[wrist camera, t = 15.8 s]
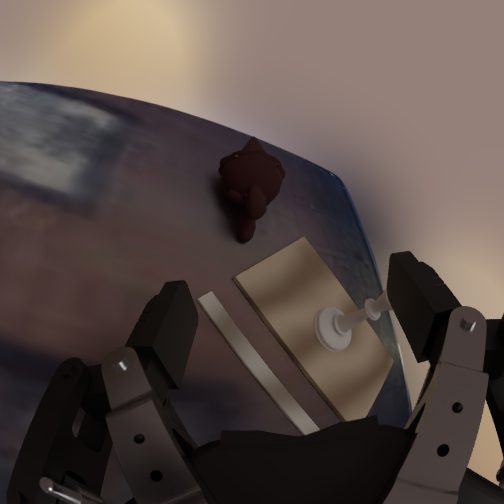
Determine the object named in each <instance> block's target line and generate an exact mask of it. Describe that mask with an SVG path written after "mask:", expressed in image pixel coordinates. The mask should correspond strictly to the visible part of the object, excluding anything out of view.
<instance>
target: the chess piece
mask: <svg viewBox="0 0 504 504" xmlns="http://www.w3.org/2000/svg"><path fill="white" fill-rule="evenodd" d="M387 310H393V309H392V307H391V305H390V303H389V300H388V297H387V289H386V290H385V291H384V292H383V293H382V295H381V296H380V297H379V298H378V299H377V300H376V301H375V300H373V299H367V300H366V301H365V308H363V309H360V310H358V311H355V312H352V313H350V314H347V315H344V314H343V313H342V312H341V311H340V310H339V309H337V308H335V307H326V308H324V309H321V310H320V311H319V312H318V313H317V314H316V316H315V320H314V328H315V333H316V336H317V338H318V340H319V342H320V343H321V344H322V346H323V347H325V348H326V349H327V350H329V351H331V352H339V351H341V350H343V349H345V348H346V347H347V346H348V345H349V343H350V341H351V329H352V328H353V327H355V326H356V325H358V324H359V323H361V322H362V321H364V320H365V319H367V318H368V317H370V318H371V319H372V320H377V319H378V318H379V317H380V311H387Z"/></svg>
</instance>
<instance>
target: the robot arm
mask: <svg viewBox="0 0 504 504" xmlns="http://www.w3.org/2000/svg"><path fill="white" fill-rule="evenodd" d="M388 271H389V272H388V280H387V297H388V300H389V303H390V305H391V307H392V309H393V310H394V313H395V315H396V317H397V319H398V321H399V323H400V325H401V327H402V329H403V331H404V333H405V335H406V338H407V339H408V342H409V344H410V346H411V348H412V351H413V353H414V355H415V358H416V360H417V362H418V363H420V362H424V361H427V360H429V363H430V368H429V370H428V373H427V375H426V378H425V381H424V384H423V387H422V390H421V392H420V395H419V398H418V400H417V403H416V406H415V408H414V410H413V412H412V414H411V416H410V418H409V420H408V422H407V424H406V426H405V428H402V427H398V426H394V425H387V424H378V419H377V415H374V416H370V417H365V418H361V419H356V420H351V421H345V422H339V423H337V424H334V425H332V426H329V427H327V428H324V429H321V430H318V431H316V432H313V433H310V434H307V435H304V436H289V435H283V434H276V433H270V432H265V431H259V430H256V431H224V430H222V432H221V440H216V441H213V442H210V443H207V444H205V445H202V446H200V447H198V446H197V445H196V443H195V442H194V441H193V439H192V438H191V437H190V435H189V434H188V432H187V431H186V429H185V427H184V426H183V424H182V422H181V420H180V419H179V417H178V415H177V413H176V411H175V410H174V408H173V406H172V404H171V402H170V400H169V398H168V397H167V396H166V395H167V391H168V389H180V385H181V382H182V378H183V375H184V371H185V367H186V364H187V360H188V357H189V353H190V350H191V346H192V343H193V340H194V336H195V333H196V329H197V326H198V312H197V309H196V306H195V304H194V301H193V299H192V296H191V293H190V291H189V288H188V285H187V283H186V282H185V281H184V280H180V281H171V282H166V283H165V284H164V286H163V288H162V289H161V291H160V293H159V295H155V296H154V297H153V298H152V299H151V300H150V301H149V302H148V303H147V305H146V307H145V308H144V310H143V312H142V313H143V314H141V316H140V318H139V322H137V323H136V325H135V327H134V329H133V331H132V333H131V335H130V337H129V339H128V341H127V343H126V345H125V347H120V348H117V349H115V350H113V351H111V352H110V353H109V354H108V355H107V356H106V357H105V358H104V360H103V362H102V364H99V365H95V366H90V367H86V365H85V364H84V363H83V362H82V360H81V359H79V358H70V359H67V360H66V361H64V362H63V363H62V364H61V365H60V366H59V367H58V369H57V370H56V372H55V374H54V376H53V378H52V380H51V382H50V384H49V386H48V388H47V390H46V392H45V394H44V396H43V398H42V400H41V402H40V404H39V406H38V408H37V411H36V413H35V415H34V417H33V420H32V422H31V424H30V427H29V429H28V431H27V434H26V436H25V439H24V441H23V444H22V447H21V449H20V452H19V455H18V458H17V461H16V464H15V467H14V470H13V473H12V476H11V479H10V483H9V486H8V490H7V504H103V502H102V499H101V497H100V492H101V488H102V483H103V479H104V475H105V471H106V467H107V463H108V459H109V455H110V451H111V448H112V444H113V445H114V448H115V451H116V454H117V457H118V459H119V462H120V465H121V467H122V470H123V473H124V475H125V477H126V480H127V482H128V485H129V487H130V489H131V492H132V494H133V496H134V497H133V498H132V499H131V500H129V501H128V502H126V503H125V504H504V459H503V461H502V464H501V467H500V469H499V470H498V472H497V475H496V479H497V481H498V482H500V483H499V486H498V485H496V484H494V483H493V482H491V481H489V480H487V479H486V478H484V477H482V476H480V475H479V474H477V473H475V472H474V471H472V470H471V469H469V468H467V465H468V463H469V460H470V457H471V454H472V451H473V447H474V444H475V440H476V437H477V433H478V430H479V426H480V422H481V418H482V413H483V408H484V404H485V399H486V401H487V404H488V407H489V410H490V413H491V415H492V418H493V421H494V424H495V428H496V431H497V434H498V438H499V442H500V445H501V449H502V453H503V458H504V314H503V316H502V319H487V320H486V319H485V317H484V316H483V315H482V314H481V313H480V312H479V311H478V310H476V309H474V308H472V307H467V306H462V305H461V304H460V303H459V301H458V300H457V299H456V297H455V296H454V295H453V293H452V292H451V291H450V289H449V288H448V287H447V285H446V284H444V282H443V280H442V279H441V278H440V277H439V276H438V274H437V273H436V272H435V270H434V269H433V268H432V267H430V266H429V265H427V264H425V263H424V262H418V260H417V259H416V258H415V257H414V255H413V254H412V253H411V252H410V251H405V252H398V253H392V254H391V255H390V260H389V270H388ZM79 407H81V408H82V409H83V410H84V411H85V412H86V414H85V416H84V419H83V422H82V424H81V427H80V430H79V433H78V436H77V438H75V437H74V435H73V432H72V425H73V422H74V419H75V417H76V414H77V412H78V409H79Z"/></svg>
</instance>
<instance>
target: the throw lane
mask: <svg viewBox="0 0 504 504" xmlns="http://www.w3.org/2000/svg"><path fill="white" fill-rule="evenodd" d="M233 281H234V282H235V284H236V285H237V286H238V288H239V289H240V290H241V292H242V293H243V295H244V296H245V297H246V299H247V300H248V301H249V303H250V304H251V305H252V307H253V308H254V309H255V311H256V312H257V314H258V315H259V316H260V318H261V319H262V320H263V322H264V323H265V324H266V326H267V327H268V328H269V330H270V331H271V332H272V334H273V335H274V336H275V337H276V339H277V340H278V341H279V343H280V344H281V345H282V347H283V348H284V349H285V351H286V352H287V353H288V354H289V356H290V357H291V358H292V360H293V361H294V362H295V363H296V365H297V366H298V367H299V369H300V370H301V371H302V372H303V374H304V375H305V376H306V378H307V379H308V380H309V381H310V383H311V384H312V385H313V386H314V388H315V389H316V390H317V391H318V393H319V394H320V395H321V396H322V398H323V399H324V400H325V401H326V403H327V404H328V405H329V406H330V407H331V409H332V410H333V411H334V412H335V414H336V415H337V416H338V417H339V419H340V420H341V421H342V422H345V421H351V420H356V419H361V418H365V417H366V415H367V414H368V412H369V410H370V408H371V406H372V405H373V403H374V401H375V399H376V397H377V395H378V393H379V391H380V389H381V387H382V385H383V383H384V381H385V379H386V377H387V375H388V373H389V370H390V368H391V366H392V364H393V362H394V361H393V359H392V358H391V356H390V355H389V353H388V352H387V350H386V349H385V347H384V346H383V344H382V343H381V341H380V340H379V338H378V337H377V335H376V334H375V332H374V331H373V329H372V328H371V327H370V325H369V324H368V322H367V321H366V319H365V320H364V321H362V322H361V323H359V324H358V325H356V326H355V327H353V328H352V329H351V341H350V343H349V345H348V346H347V347H346V348H345V349H343V350H341V351H339V352H331V351H329V350H327V349H326V348H325V347H323V346H322V344H321V343H320V342H319V340H318V338H317V336H316V333H315V328H314V320H315V316H316V314H317V313H318V312H319V311H320V310H321V309H324V308H326V307H335V308H337V309H339V310H340V311H341V312H342V313H343V314H344V315H347V314H350V313H352V312H355V311H358V310H359V309H358V308H357V307H356V305H355V304H354V302H353V301H352V300H351V298H350V297H349V295H348V294H347V293H346V291H345V290H344V289H343V287H342V286H341V285H340V283H339V282H338V280H337V279H336V278H335V276H334V275H333V274H332V272H331V271H330V270H329V268H328V267H327V266H326V264H325V263H324V262H323V260H322V259H321V258H320V256H319V255H318V254H317V253H316V251H315V250H314V249H313V247H312V246H311V245H310V243H309V242H308V241H307V240H306V238H305V237H302V238H301V239H299V240H297V241H295V242H294V243H292V244H290V245H289V246H287V247H285V248H284V249H282V250H280V251H278V252H277V253H275V254H273V255H272V256H270V257H268V258H267V259H265V260H263V261H261V262H260V263H258V264H256V265H254V266H253V267H251V268H249V269H248V270H246V271H244V272H242V273H241V274H239V275H237V276H235V277H234V278H233ZM197 301H198V302H199V304H200V305H201V307H202V308H203V310H204V311H205V313H206V314H207V315H208V317H209V318H210V320H211V321H212V322H213V324H214V325H215V327H216V328H217V329H218V331H219V332H220V333H221V335H222V336H223V337H224V339H225V340H226V342H227V343H228V344H229V346H230V347H231V348H232V349H233V351H234V352H235V353H236V355H237V356H238V357H239V359H240V360H241V361H242V363H243V364H244V365H245V366H246V368H247V369H248V370H249V372H250V373H251V374H252V375H253V377H254V378H255V379H256V380H257V382H258V383H259V384H260V385H261V386H262V388H263V389H264V390H265V391H266V393H267V394H268V395H269V396H270V397H271V399H272V400H273V401H274V402H275V403H276V405H277V406H278V407H279V408H280V409H281V410H282V412H283V413H284V414H285V415H286V416H287V417H288V419H289V420H290V421H291V422H292V423H293V424H294V425H295V426H296V428H297V429H298V430H299V431H300V432H301V433H302V434H303V435H307V434H310V433H313V432H316V431H318V430H320V429H319V428H318V427H317V426H316V425H315V423H314V422H313V421H312V420H311V419H310V418H309V416H308V415H307V414H306V413H305V412H304V411H303V409H302V408H301V407H300V406H299V405H298V403H297V402H296V401H295V400H294V399H293V397H292V396H291V395H290V394H289V392H288V391H287V390H286V389H285V388H284V386H283V385H282V384H281V383H280V381H279V380H278V379H277V378H276V376H275V375H274V374H273V373H272V371H271V370H270V369H269V368H268V366H267V365H266V364H265V363H264V361H263V360H262V359H261V357H260V356H259V355H258V353H257V352H256V351H255V350H254V348H253V347H252V346H251V344H250V343H249V342H248V340H247V339H246V338H245V336H244V335H243V334H242V332H241V331H240V330H239V328H238V327H237V326H236V324H235V323H234V322H233V320H232V319H231V317H230V316H229V315H228V313H227V312H226V311H225V309H224V308H223V306H222V305H221V304H220V302H219V301H218V299H217V298H216V297H215V295H214V294H213V292H212V291H211V292H209V293H207V294H205V295H204V296H202V297H200V298H198V299H197Z"/></svg>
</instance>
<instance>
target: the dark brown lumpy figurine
mask: <svg viewBox="0 0 504 504" xmlns="http://www.w3.org/2000/svg"><path fill="white" fill-rule="evenodd" d="M219 173H220V175H221V178H222V183H223V190H222V191H223V192H224V193H225V195H226V197H227V198H228V199H229V201H230V202H231V203H233V204H235V205H237V206H238V207H239V208H241V209H242V212H241V216H240V221H239V239H240V241H241V242H248V241H249V240H250V239H251V238H252V237H253V234H254V231H255V228H256V226H255V220H257V219H259V218H261V217H262V216H263V215H264V213H265V212H266V206H267V205H268V204H269V203H270V202H271V201H272V200H273V199H274V198H275V197H276V196H277V195H278V193H279V191H280V187H281V183H282V180H283V178H284V176H285V171H284V169H283V168H282V166H281V163H280V162H279V160H278V159H276V158H275V157H273V156H271V155H268V154H266V152H265V151H264V149H263V148H262V146H261V144H260V143H259V141H258V140H257V139H256V137H252V138H251V139H250V140H249V142H248V143H247V144H246V145H245V147H244V148H243V149H242V150H241V151H237V152H234V153H233V154H231V155H230V156H227V157H224V158H222V159H221V161H220V168H219Z"/></svg>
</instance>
